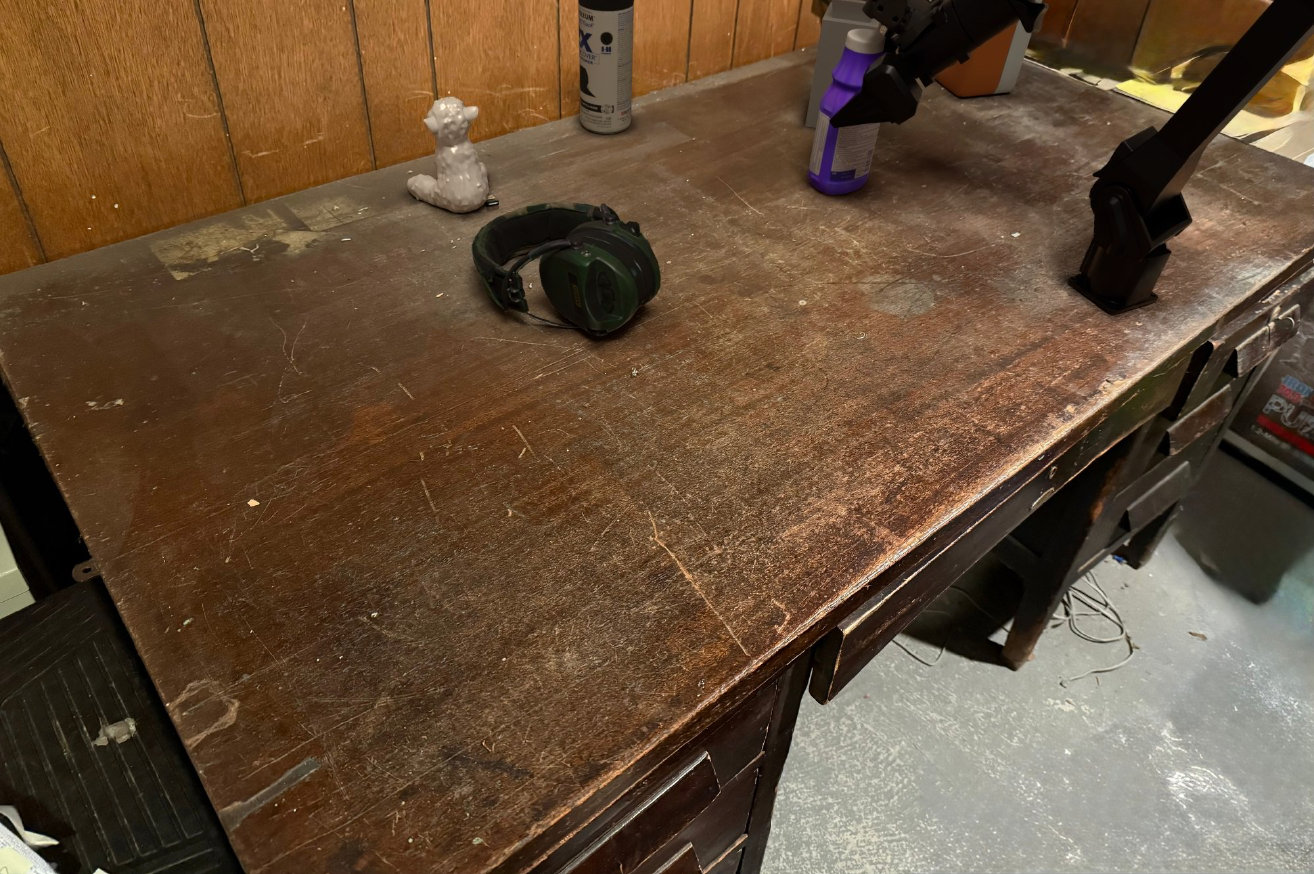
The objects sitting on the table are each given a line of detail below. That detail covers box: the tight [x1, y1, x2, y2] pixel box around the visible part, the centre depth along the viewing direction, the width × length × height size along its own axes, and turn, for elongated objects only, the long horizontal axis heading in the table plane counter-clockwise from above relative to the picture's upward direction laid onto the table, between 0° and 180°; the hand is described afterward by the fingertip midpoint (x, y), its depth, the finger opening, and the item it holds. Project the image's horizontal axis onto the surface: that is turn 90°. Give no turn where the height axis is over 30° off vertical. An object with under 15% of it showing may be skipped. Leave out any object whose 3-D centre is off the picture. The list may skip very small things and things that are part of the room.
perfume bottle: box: [804, 0, 882, 129], centre depth 113 cm, size 7×7×18 cm
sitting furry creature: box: [406, 96, 490, 214], centre depth 96 cm, size 10×9×12 cm
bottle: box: [807, 29, 886, 196], centre depth 100 cm, size 7×6×17 cm
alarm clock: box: [926, 0, 1043, 98], centre depth 125 cm, size 18×9×21 cm, turn 17°
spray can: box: [577, 0, 635, 135], centre depth 109 cm, size 7×7×20 cm
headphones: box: [471, 201, 662, 337], centre depth 85 cm, size 13×13×20 cm
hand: (840, 108), depth 100 cm, fingers open, 9 cm apart
